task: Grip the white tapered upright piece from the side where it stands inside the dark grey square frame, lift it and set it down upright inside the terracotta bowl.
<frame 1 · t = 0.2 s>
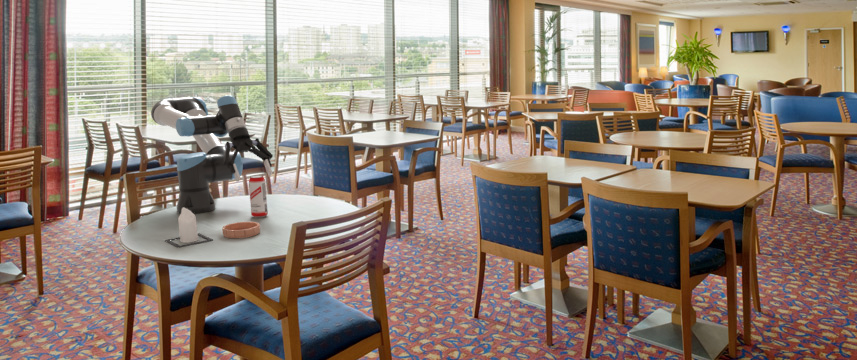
hand: (255, 177, 262), 15 cm above the table, tool tilted 35°, fingers open, 13 cm apart
dark grey square frame: (189, 240, 230), on the table
beer can: (259, 216, 263), on the table
bowl: (241, 233, 237), on the table
white tapered upright piece: (189, 241, 230), resting in dark grey square frame
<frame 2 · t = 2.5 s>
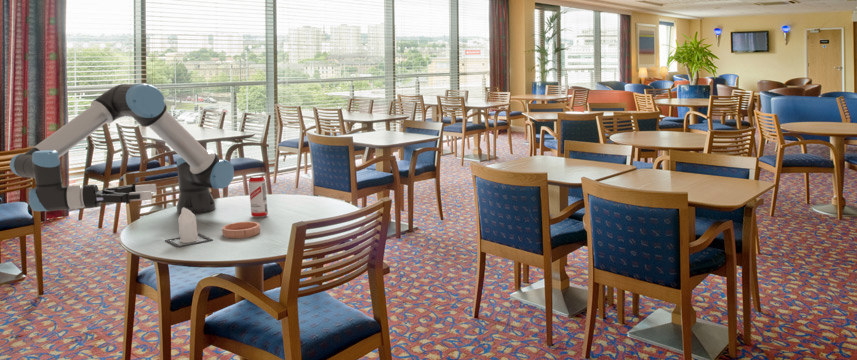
hand: (153, 191, 224), 18 cm above the table, tool horizontal, fingers open, 13 cm apart
nothing on the table moved.
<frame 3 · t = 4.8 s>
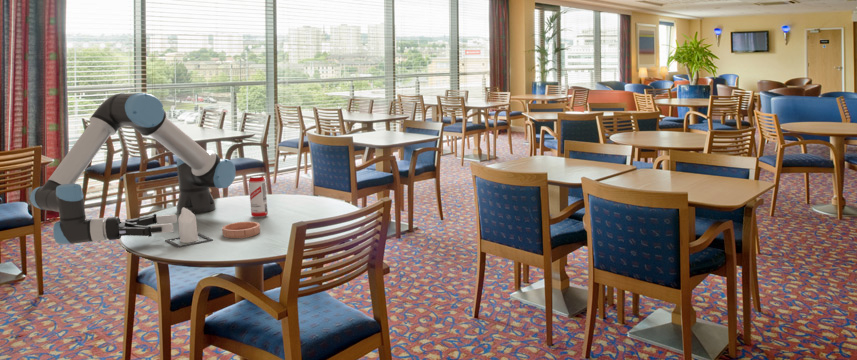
hand: (175, 222, 227), 7 cm above the table, tool horizontal, fingers open, 13 cm apart
nothing on the table moved.
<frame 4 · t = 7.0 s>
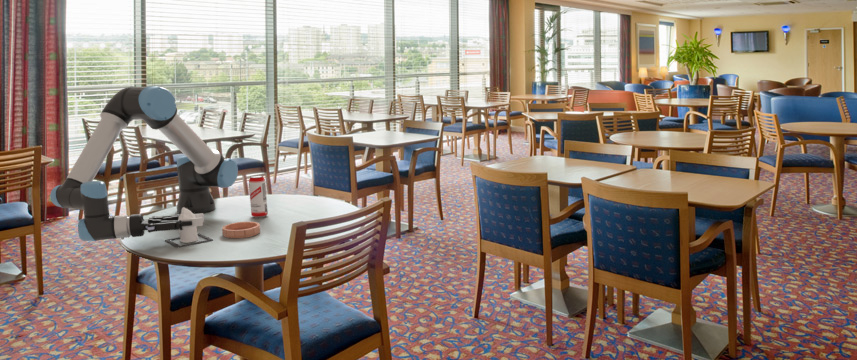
hand: (202, 219, 230), 7 cm above the table, tool horizontal, fingers closed on white tapered upright piece, 6 cm apart
white tapered upright piece: (189, 241, 230), resting in dark grey square frame, touching gripper
everything else where it was.
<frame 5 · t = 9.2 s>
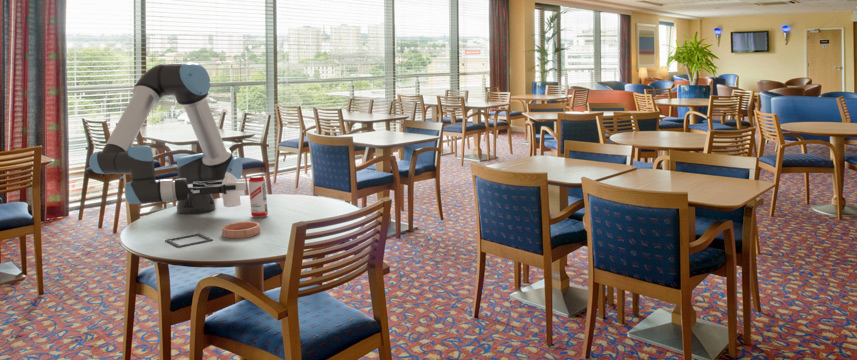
hand: (245, 184, 233), 18 cm above the table, tool horizontal, fingers closed on white tapered upright piece, 6 cm apart
white tapered upright piece: (232, 206, 233), point 10 cm above the table, touching gripper
everything else where it was.
when the fingers open (9 cm above the table, at t = 11.4 s): white tapered upright piece drops 1 cm, resting on bowl.
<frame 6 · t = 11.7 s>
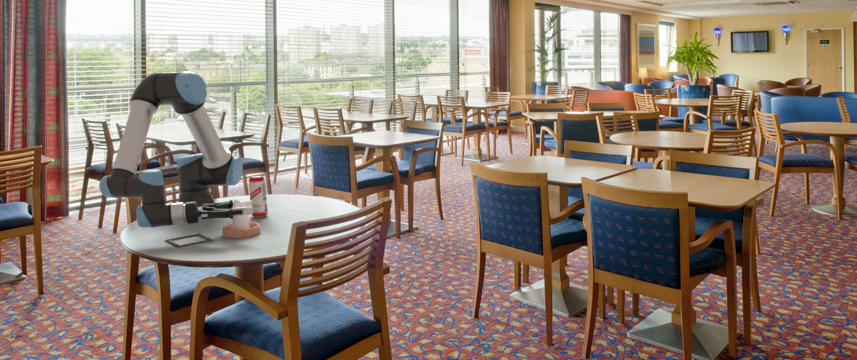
hand: (252, 207, 236), 9 cm above the table, tool horizontal, fingers open, 10 cm apart
white tapered upright piece: (241, 232, 237), resting on bowl
everything else where it was.
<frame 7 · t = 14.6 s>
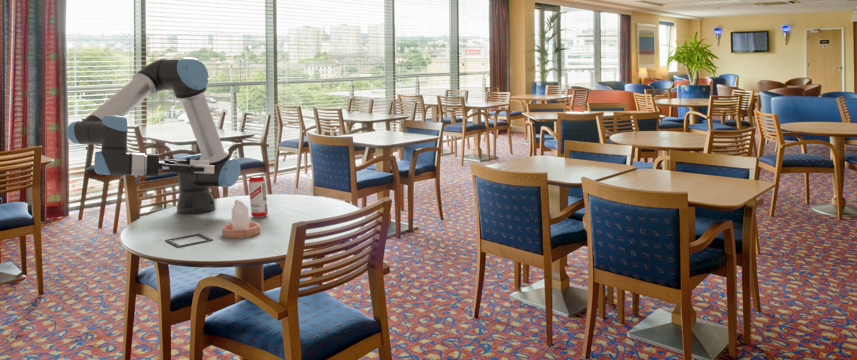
hand: (211, 166, 234), 24 cm above the table, tool horizontal, fingers open, 13 cm apart
nothing on the table moved.
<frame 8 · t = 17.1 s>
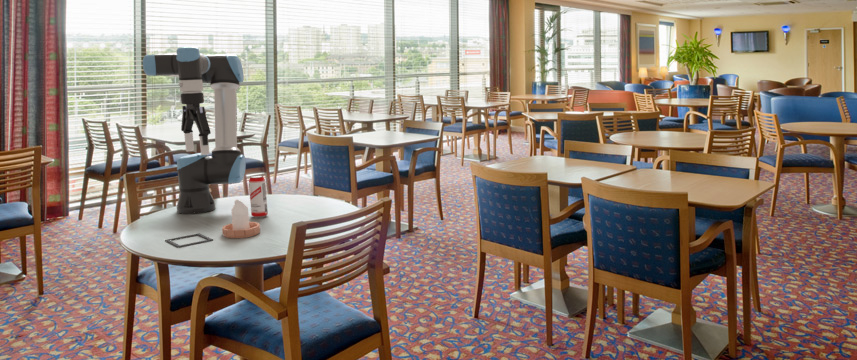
hand: (197, 152, 236), 29 cm above the table, tool pointing down, fingers open, 13 cm apart
nothing on the table moved.
at the end: white tapered upright piece 0.2 cm from the bowl (horizontally); white tapered upright piece resting on bowl; white tapered upright piece tilted 0° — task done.
